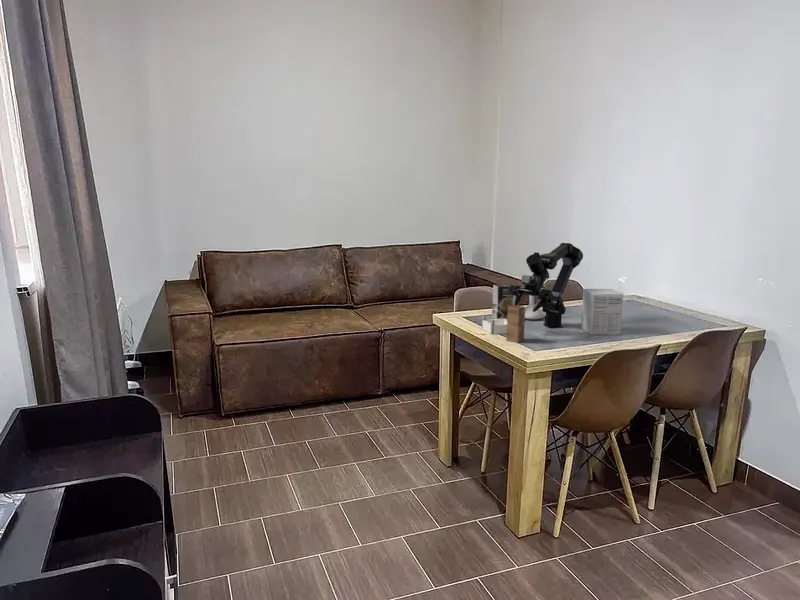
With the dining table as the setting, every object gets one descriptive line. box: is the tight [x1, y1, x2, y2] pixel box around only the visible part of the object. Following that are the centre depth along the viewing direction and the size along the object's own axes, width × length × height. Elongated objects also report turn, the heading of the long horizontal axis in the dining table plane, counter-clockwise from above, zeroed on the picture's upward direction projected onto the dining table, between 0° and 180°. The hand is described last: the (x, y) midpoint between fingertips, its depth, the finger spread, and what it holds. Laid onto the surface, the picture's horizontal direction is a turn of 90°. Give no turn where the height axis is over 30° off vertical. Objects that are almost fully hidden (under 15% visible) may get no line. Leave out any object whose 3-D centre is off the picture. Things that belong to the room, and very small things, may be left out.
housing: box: [481, 314, 507, 335], centre depth 258 cm, size 11×11×6 cm
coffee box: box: [491, 283, 513, 319], centre depth 279 cm, size 9×6×16 cm
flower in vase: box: [525, 272, 549, 320], centre depth 280 cm, size 13×11×25 cm
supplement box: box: [580, 288, 625, 336], centre depth 258 cm, size 13×13×18 cm
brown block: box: [505, 304, 526, 344], centre depth 241 cm, size 5×5×14 cm
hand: (523, 309), depth 244 cm, fingers open, 9 cm apart
